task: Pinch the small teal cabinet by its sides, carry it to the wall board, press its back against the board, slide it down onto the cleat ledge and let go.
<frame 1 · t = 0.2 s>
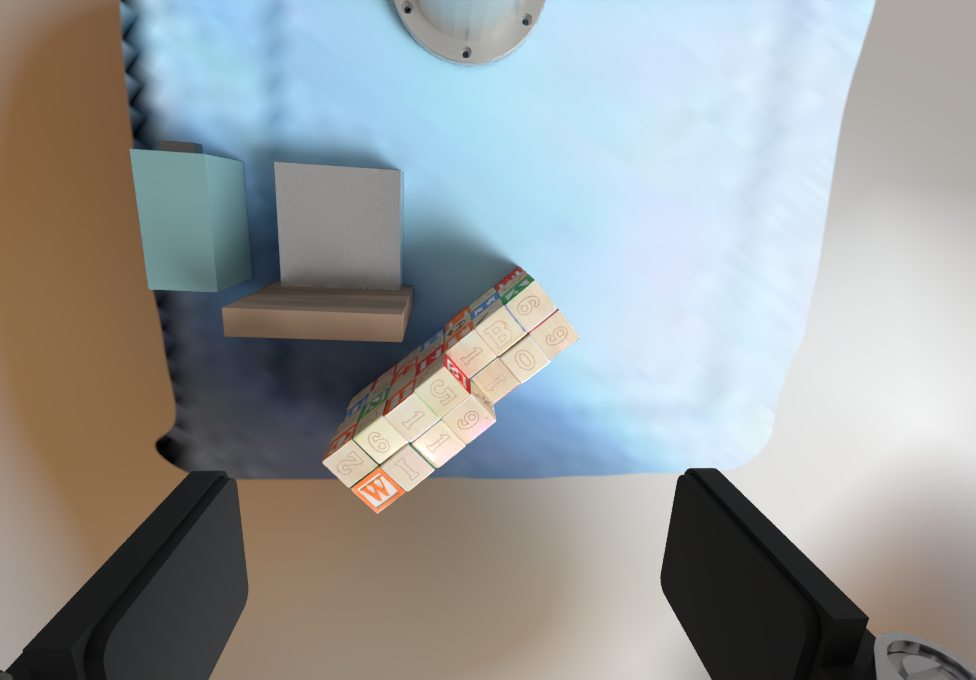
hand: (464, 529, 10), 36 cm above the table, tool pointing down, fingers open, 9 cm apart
stack of blocks: (453, 355, 47), on the table
teal cabinet: (218, 220, 42), on the table
wall board: (348, 293, 44), on the table
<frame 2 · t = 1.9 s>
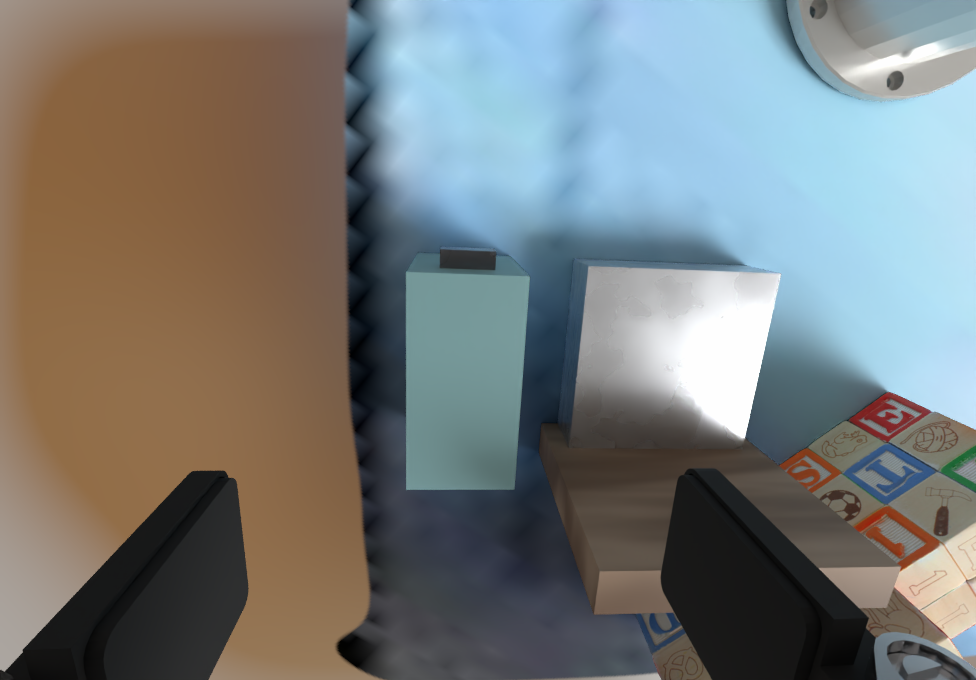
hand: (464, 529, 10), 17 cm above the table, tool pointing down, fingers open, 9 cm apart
stack of blocks: (765, 513, 33), on the table
teal cabinet: (461, 342, 27), on the table
wall board: (634, 438, 30), on the table
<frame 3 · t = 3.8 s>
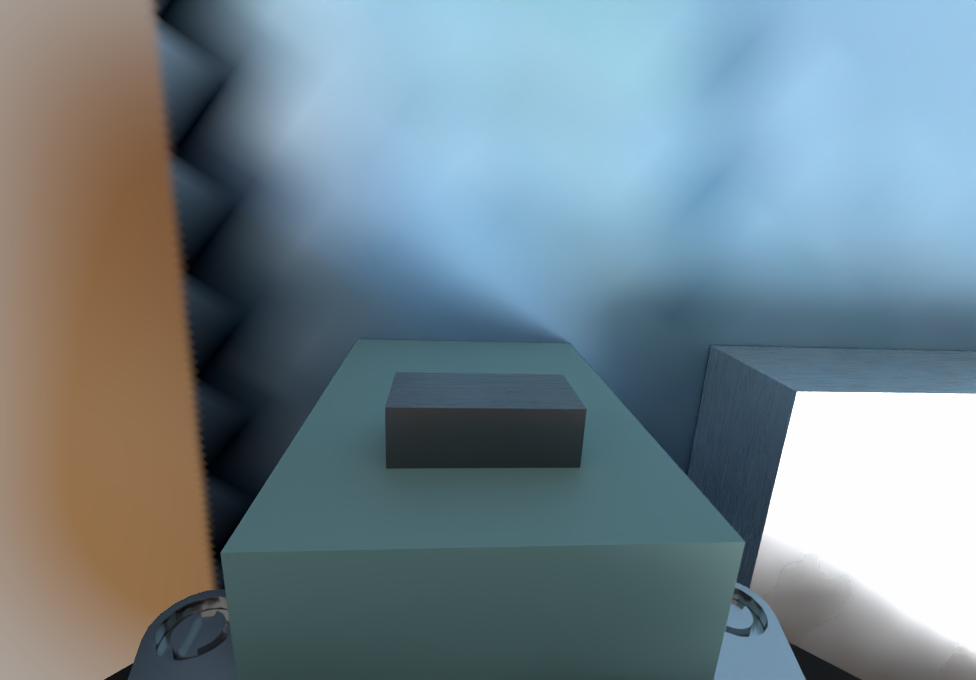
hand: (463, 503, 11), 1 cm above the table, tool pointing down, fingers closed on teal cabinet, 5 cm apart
teal cabinet: (459, 522, 13), on the table, touching gripper
wall board: (799, 677, 15), on the table
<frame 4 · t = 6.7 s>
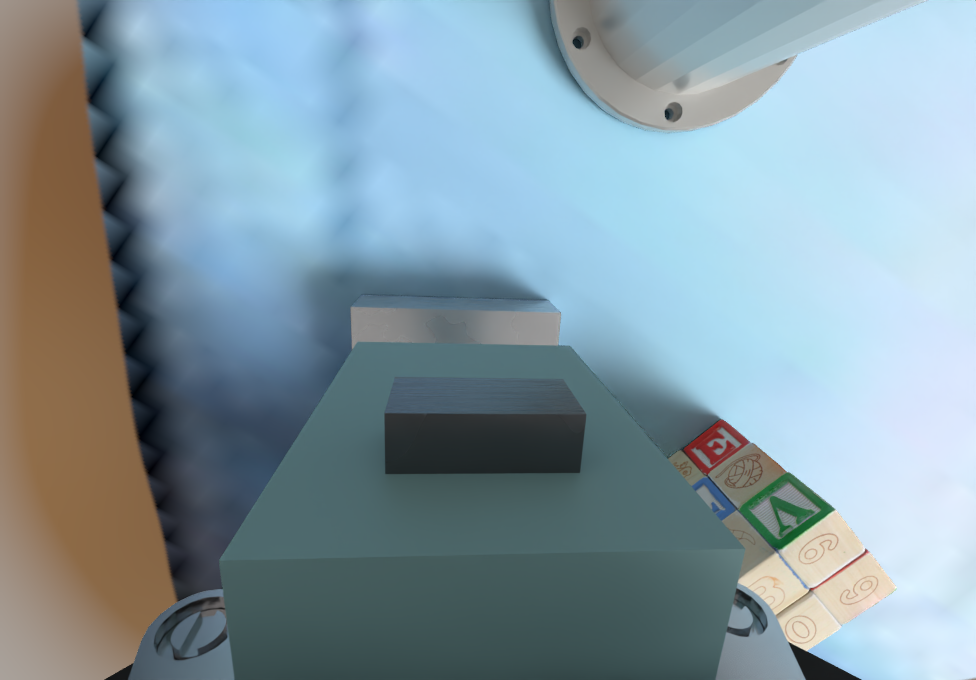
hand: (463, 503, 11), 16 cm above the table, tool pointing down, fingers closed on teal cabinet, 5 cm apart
stack of blocks: (611, 545, 31), on the table
teal cabinet: (459, 525, 13), point 14 cm above the table, touching gripper
wall board: (451, 477, 29), on the table
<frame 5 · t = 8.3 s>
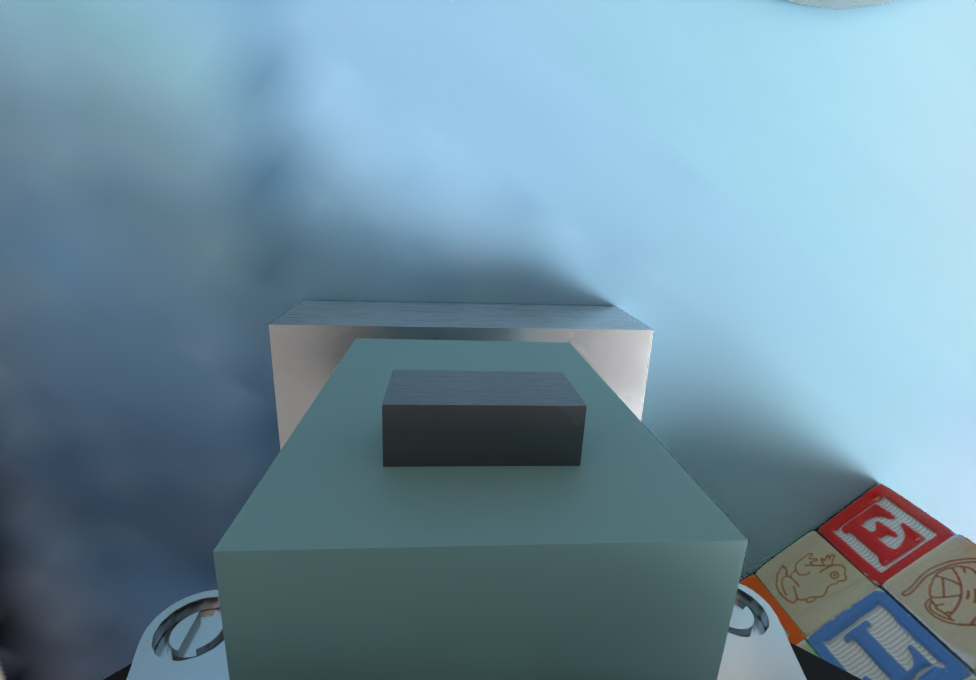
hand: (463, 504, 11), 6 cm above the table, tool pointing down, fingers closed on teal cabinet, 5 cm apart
stack of blocks: (700, 665, 21), on the table
teal cabinet: (458, 523, 12), point 4 cm above the table, touching gripper, wall board
wall board: (457, 583, 18), on the table
when the fingers open (4 cm above the table, at t = 9.5 s): teal cabinet stays where it is, resting on wall board.
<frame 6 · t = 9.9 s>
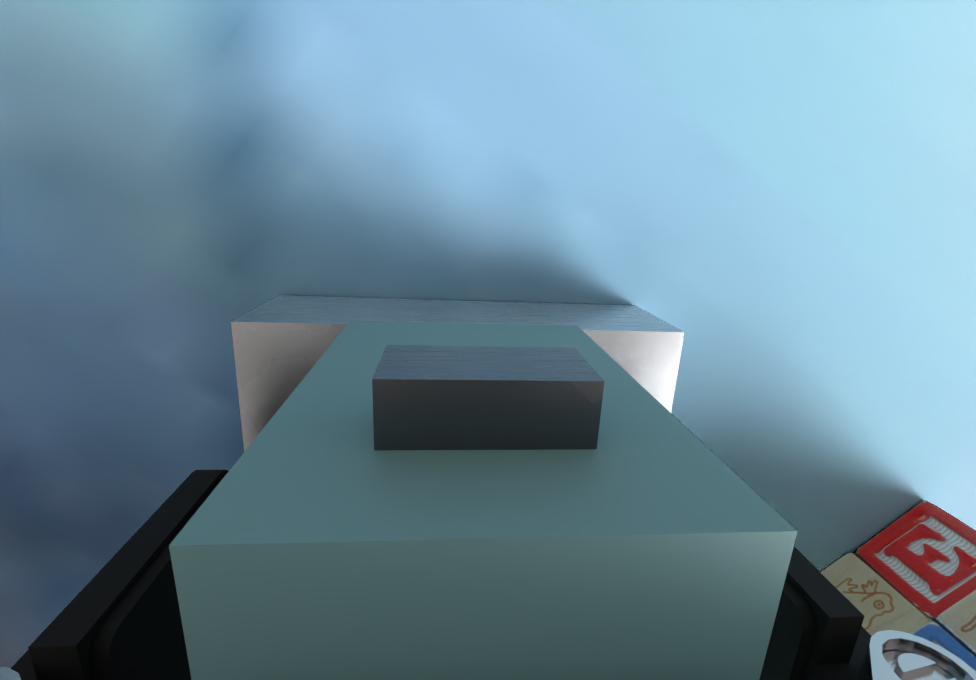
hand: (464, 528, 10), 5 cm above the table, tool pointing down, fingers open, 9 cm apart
teal cabinet: (460, 518, 12), point 3 cm above the table, touching wall board
wall board: (452, 614, 16), on the table
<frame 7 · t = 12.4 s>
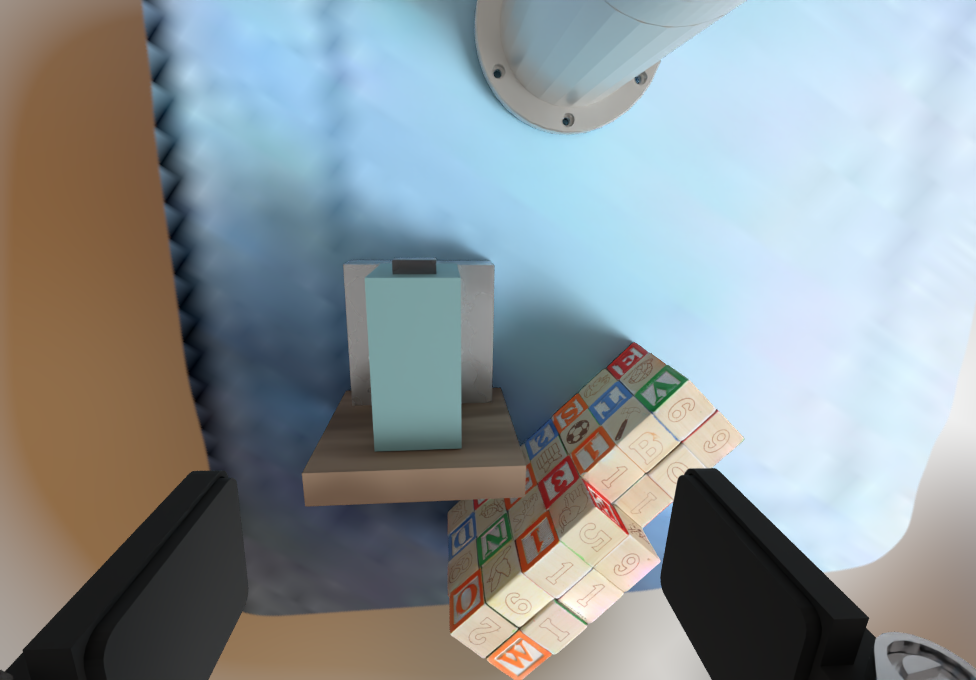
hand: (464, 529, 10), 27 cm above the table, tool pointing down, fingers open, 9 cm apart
stack of blocks: (560, 450, 40), on the table
teal cabinet: (421, 336, 33), point 3 cm above the table, touching wall board
wall board: (424, 401, 37), on the table
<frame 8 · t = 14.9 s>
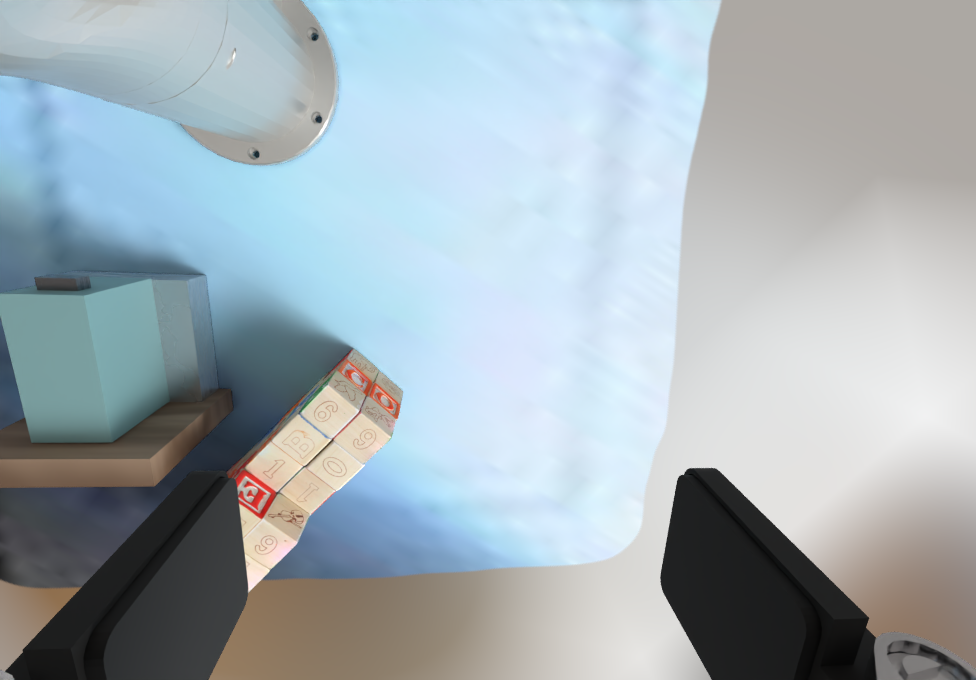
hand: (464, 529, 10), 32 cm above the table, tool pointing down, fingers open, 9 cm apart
stack of blocks: (300, 444, 44), on the table
teal cabinet: (126, 341, 37), point 3 cm above the table, touching wall board
wall board: (160, 398, 42), on the table
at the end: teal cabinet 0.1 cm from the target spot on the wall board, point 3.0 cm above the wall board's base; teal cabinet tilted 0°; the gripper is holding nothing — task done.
